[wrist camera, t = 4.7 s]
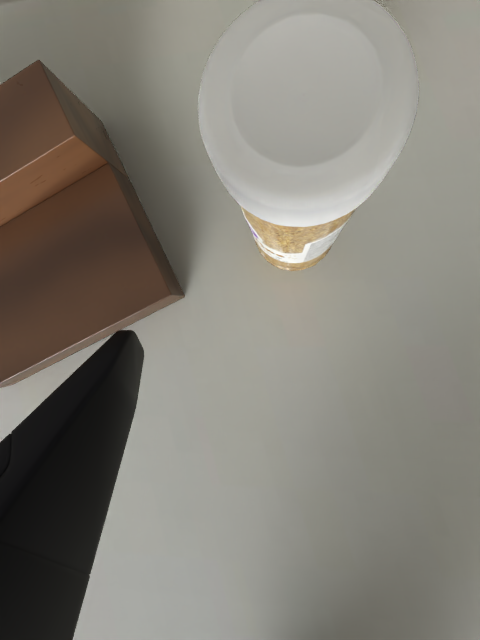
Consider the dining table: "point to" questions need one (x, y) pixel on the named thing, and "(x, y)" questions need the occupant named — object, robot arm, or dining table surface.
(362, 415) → the dining table surface
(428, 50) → the dining table surface
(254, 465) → the dining table surface
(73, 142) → the walnut step shelf
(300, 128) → the sprinkles bottle
